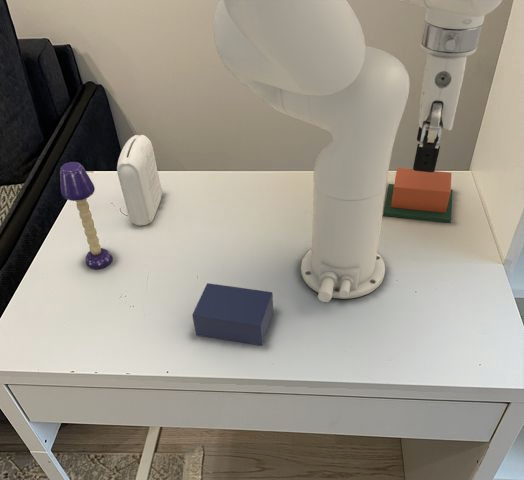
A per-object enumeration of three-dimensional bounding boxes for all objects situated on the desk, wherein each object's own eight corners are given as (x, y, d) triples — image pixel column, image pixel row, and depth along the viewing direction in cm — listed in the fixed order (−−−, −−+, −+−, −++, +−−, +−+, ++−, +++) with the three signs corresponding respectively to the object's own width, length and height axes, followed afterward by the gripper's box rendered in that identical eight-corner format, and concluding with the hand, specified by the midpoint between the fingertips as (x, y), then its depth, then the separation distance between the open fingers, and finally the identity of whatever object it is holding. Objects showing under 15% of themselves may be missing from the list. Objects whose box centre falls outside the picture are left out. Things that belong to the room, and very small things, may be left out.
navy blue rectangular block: (262, 345, 74) (260, 325, 71) (196, 335, 76) (191, 314, 73) (273, 312, 78) (272, 291, 75) (210, 303, 80) (207, 282, 77)
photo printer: (142, 192, 100) (126, 127, 91) (165, 193, 100) (151, 127, 90) (128, 226, 93) (109, 160, 84) (152, 227, 93) (136, 160, 84)
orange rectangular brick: (445, 213, 91) (450, 192, 88) (390, 207, 93) (393, 186, 90) (446, 193, 95) (451, 172, 92) (393, 188, 96) (397, 167, 93)
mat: (450, 222, 90) (451, 219, 90) (383, 215, 92) (383, 212, 92) (451, 192, 96) (452, 189, 95) (388, 186, 98) (388, 183, 97)
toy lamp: (111, 248, 90) (82, 154, 77) (120, 264, 87) (90, 169, 74) (83, 258, 88) (48, 163, 76) (90, 274, 85) (55, 179, 73)
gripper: (480, 61, 67) (448, 186, 80) (478, 18, 79) (450, 133, 91) (418, 56, 69) (396, 180, 81) (425, 15, 80) (405, 129, 93)
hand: (425, 155), depth 86 cm, fingers open, 9 cm apart
